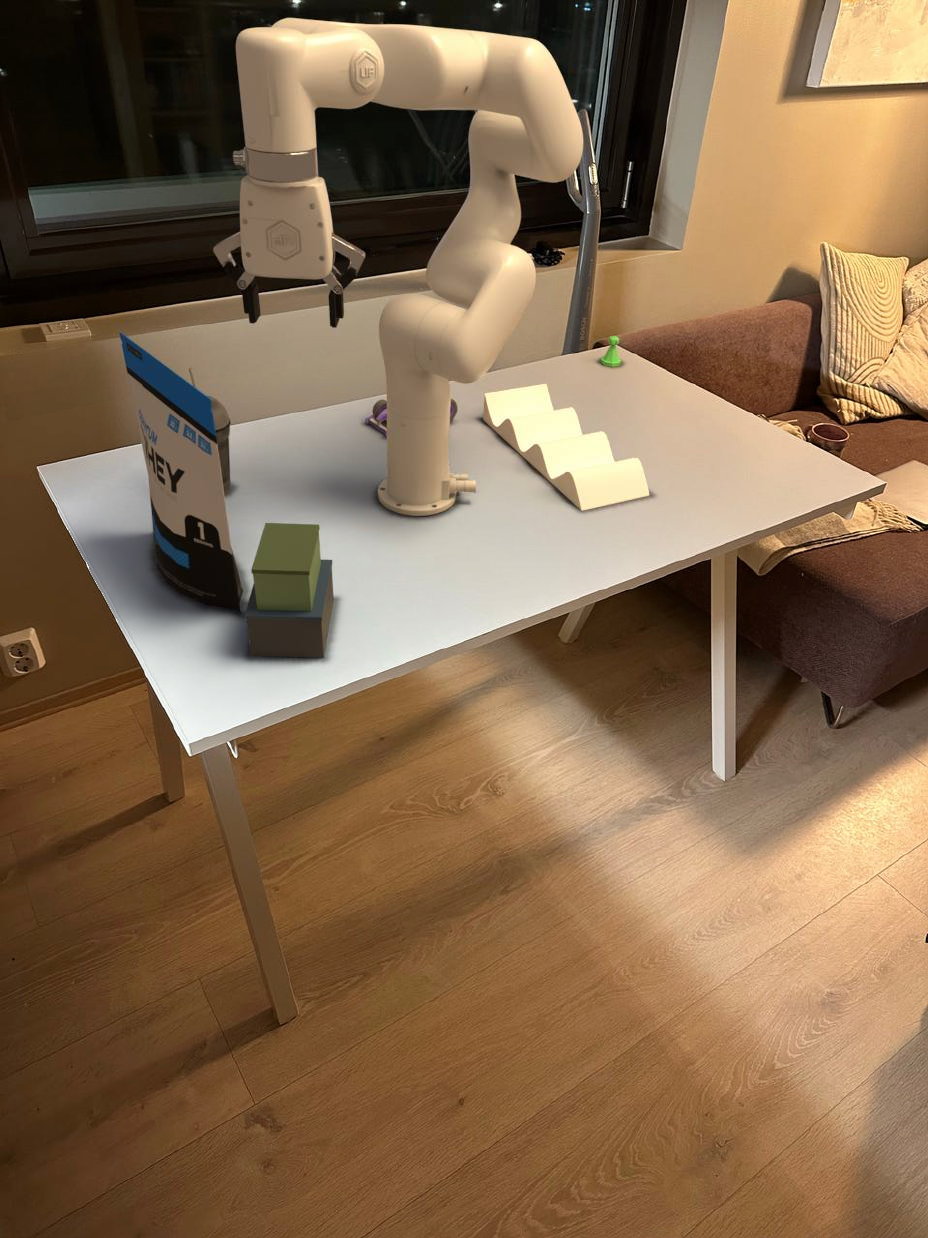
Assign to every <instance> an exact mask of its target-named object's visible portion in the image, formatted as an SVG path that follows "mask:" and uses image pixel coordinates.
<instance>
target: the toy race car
mask: <svg viewBox="0 0 928 1238" xmlns="http://www.w3.org/2000/svg"><path fill="white" fill-rule="evenodd" d="M457 412H458V404H457V402H456V401H455V399H453V398H451V406H450V422H452V421H453V420H454V418H455V416H456V415H457ZM364 422H365V424H366V425H368V424H371V425H372V426H373V427H375V428H376V429H378V430H379V431H381V432H382V433H384V436H385V438H387V426H384V425H383V424H382V423H383V422H386V423H387V399H379V400H377V401H376V402H375V403H374V405H373V407H372V414H371V415H369V416H368V417H366V418H365V421H364Z"/></svg>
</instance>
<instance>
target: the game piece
mask: <svg viewBox="0 0 928 1238" xmlns="http://www.w3.org/2000/svg"><path fill="white" fill-rule="evenodd" d="M619 343H620V338H619V337H618V336H616V335H611V336H609V338H608V344H609V347H608V349H607V351H606V353H605V354H604V355H603V356H602V357H601V358H600V363H601V364H602V365H603V366H606V367H611V368H614V367H619V366H620V365H621V363H622V359H620V358H619V353H618V350H617V345H619Z"/></svg>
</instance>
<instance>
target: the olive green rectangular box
mask: <svg viewBox="0 0 928 1238" xmlns="http://www.w3.org/2000/svg"><path fill="white" fill-rule="evenodd" d="M320 544H321V543H320V524H317V523H315V524H314V523H312V524H311V523H284V522H283V523H281V522H265V523H264V527H263V530H262V533H261V537H260V540H259V543H258V546H257V550H256V552H255V556H254V560H253V563H252V567H251V569H250V570H251V574H252V579H253V585H254V587H255V595H256V603H257V610H286V611H312V607H313V601H314V596H315V591H316V586H317V581H318V576H319V571H320V566H321V560H322V558H321V545H320Z"/></svg>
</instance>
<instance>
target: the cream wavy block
mask: <svg viewBox="0 0 928 1238" xmlns="http://www.w3.org/2000/svg"><path fill="white" fill-rule="evenodd" d="M483 396H484V397H483V412H482V413H483V414H482V420H483V422H485V423H486V424H487V425H488V426H489V427H490V428H491V429H492V430H493V431H495V433H496V434H498V435H499V436H500V437H501V438H502V439H503V440H504V441H505V442H507V443H508V444H509V445H510V446H511V447H512V448H513V449H514V450H515V451H516V452H517V453H518V454H519V455H521V456H522V457H523V458H524V459H525V460H526V461H527V462H528V463H529V464H530V465H531V466H532V467H533V468H535V469H536V470H537V471H538V472H539V473H540V474H541V476H543V477H544V478H545V479H547V480H548V481H549V482H550V483H551V485H553V486H554V487H555V488H556V489H557V490H558V491H559V492H561V493H562V494H563V495H564V496H565V497H566V498H567V499H568V500H569V501H570V502H572V504H574V505H575V506H576V508H578V509H579V511H582V512H583V511H588V510H592V509H597V508H600V507H605V506H610V505H614V504H619V503H623V502H627V501H632V500H637V499H641V498H645V497H650V492H649V486H648V482H647V480H646V476H645V472H644V468H643V465H642V463H641V460H640V459H639V458H637V457H631V458H626V459H621V460H617V461H616V460H615V459H614V456H613V452H612V449H611V445H610V441H609V438H608V436H607V434H606V433H605V432H604V431H602V430H601V431H596V432H595V431H594V432H591V433H586V434H585V433H584V434H583V432H582V428H581V425H580V421H579V417H578V415H577V412H576V410H575V409H574V407H573V406H572V407H565V408H559V409H554V406H553V404H552V400H551V396H550V391H549V389H548V385H547V383H542V384H536V385H530V386H524V387H516V388H510V389H505V390H498V391H493V392H486V393H484V395H483Z"/></svg>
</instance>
